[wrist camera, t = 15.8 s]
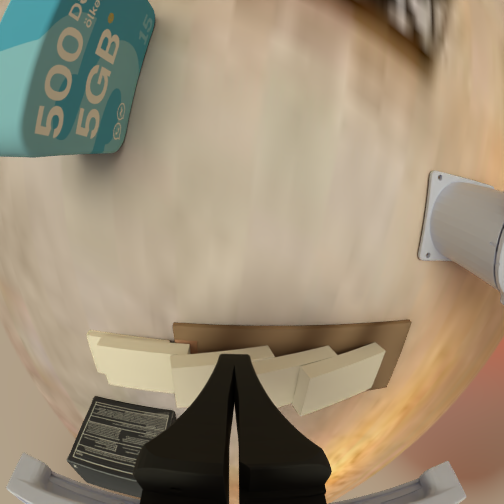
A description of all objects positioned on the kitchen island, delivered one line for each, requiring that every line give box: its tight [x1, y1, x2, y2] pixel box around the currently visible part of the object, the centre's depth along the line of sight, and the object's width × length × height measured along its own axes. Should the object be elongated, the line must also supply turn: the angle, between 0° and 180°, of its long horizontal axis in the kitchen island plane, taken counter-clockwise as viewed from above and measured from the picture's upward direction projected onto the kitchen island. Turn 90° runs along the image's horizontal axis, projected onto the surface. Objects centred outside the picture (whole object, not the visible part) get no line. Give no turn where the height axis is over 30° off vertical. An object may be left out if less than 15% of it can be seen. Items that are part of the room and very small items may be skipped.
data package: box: [0, 0, 155, 157], centre depth 11 cm, size 12×4×12 cm, turn 168°
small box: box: [67, 396, 176, 498], centre depth 23 cm, size 11×6×10 cm, turn 86°
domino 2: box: [96, 335, 191, 393], centre depth 23 cm, size 2×5×8 cm
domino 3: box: [170, 345, 275, 408], centre depth 23 cm, size 2×5×8 cm
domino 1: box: [87, 330, 170, 374], centre depth 25 cm, size 2×5×8 cm
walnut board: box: [173, 320, 411, 391], centre depth 25 cm, size 22×9×1 cm, turn 88°
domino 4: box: [252, 345, 337, 407], centre depth 23 cm, size 2×5×8 cm
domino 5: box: [292, 342, 385, 416], centre depth 23 cm, size 2×5×8 cm
